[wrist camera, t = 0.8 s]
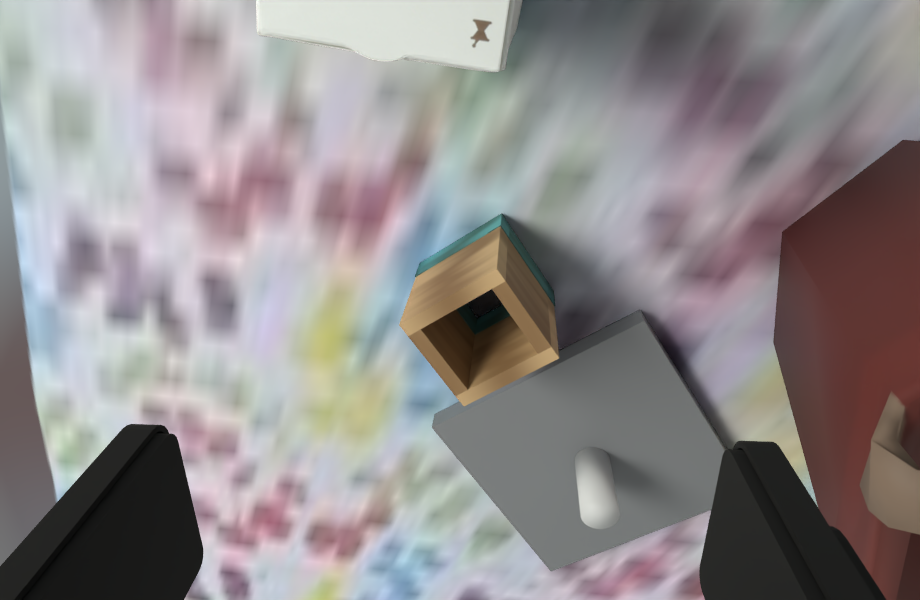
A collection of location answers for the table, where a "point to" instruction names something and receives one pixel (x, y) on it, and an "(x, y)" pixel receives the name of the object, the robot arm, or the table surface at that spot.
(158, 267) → the table surface
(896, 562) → the bucket
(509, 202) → the table surface
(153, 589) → the robot arm
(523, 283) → the wooden sleeve
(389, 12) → the skincare box
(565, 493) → the pin board
